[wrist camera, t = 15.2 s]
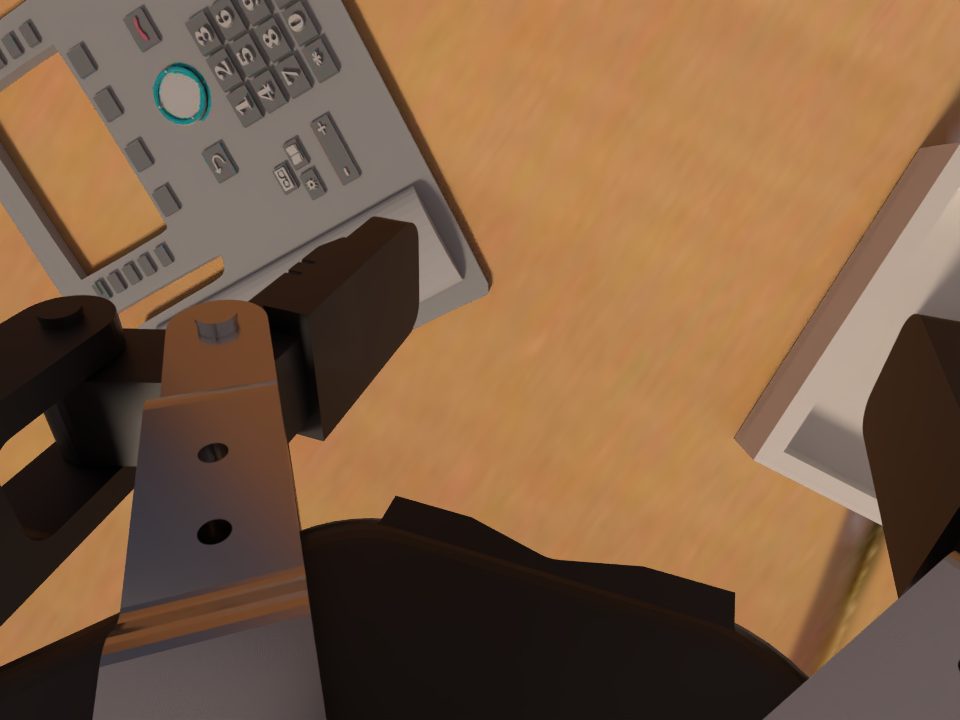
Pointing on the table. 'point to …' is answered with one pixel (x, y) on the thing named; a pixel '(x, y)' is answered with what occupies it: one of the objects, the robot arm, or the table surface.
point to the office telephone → (235, 144)
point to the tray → (862, 336)
